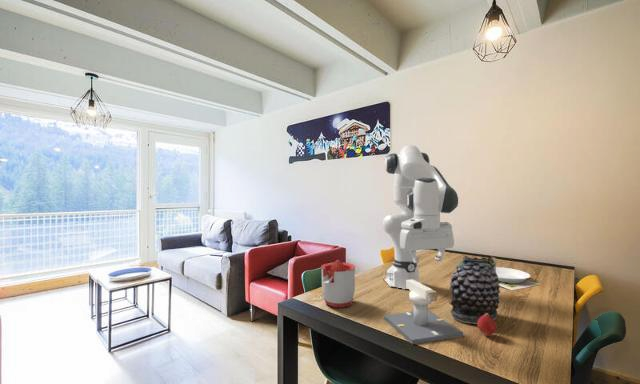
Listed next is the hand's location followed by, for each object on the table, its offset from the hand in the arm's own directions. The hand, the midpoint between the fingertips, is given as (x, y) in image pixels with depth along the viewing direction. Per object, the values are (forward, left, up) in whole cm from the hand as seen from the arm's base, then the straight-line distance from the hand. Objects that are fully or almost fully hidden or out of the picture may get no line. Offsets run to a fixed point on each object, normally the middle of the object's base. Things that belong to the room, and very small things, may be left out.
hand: (427, 261), depth 103 cm
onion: (+7, +18, -26) cm, 32 cm away
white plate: (-45, +81, -26) cm, 96 cm away
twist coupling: (-5, 0, -16) cm, 16 cm away
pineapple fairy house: (-6, +25, -26) cm, 36 cm away
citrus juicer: (-35, -23, -26) cm, 49 cm away
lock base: (-5, 0, -25) cm, 26 cm away
